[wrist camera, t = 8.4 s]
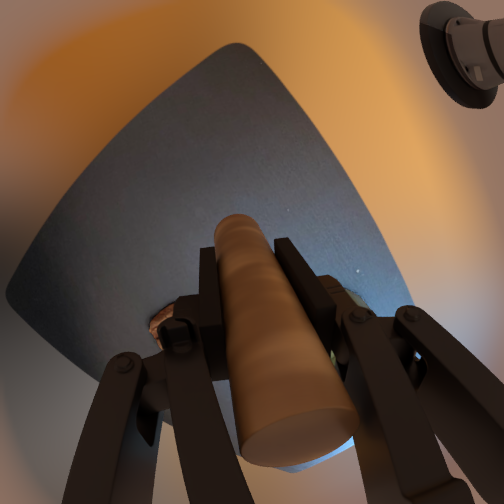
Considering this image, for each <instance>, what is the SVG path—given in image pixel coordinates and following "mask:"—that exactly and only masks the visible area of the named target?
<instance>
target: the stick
mask: <svg viewBox="0 0 504 504" xmlns="http://www.w3.org/2000/svg"><path fill="white" fill-rule="evenodd" d="M214 243H215V254H216V262H217V271H218V281H219V291H220V301H221V310H222V319H223V328H224V336H225V344H226V349H225V350H226V359H227V367H228V375H229V383H230V390H231V397H232V405H233V412H234V419H235V425H236V432H237V438H238V445H239V451H240V454H241V456H242V457H243V458H244V459H245V460H246V461H247V462H249V463H251V464H254V465H258V466H263V467H285V466H292V465H297V464H302V463H305V462H309V461H312V460H315V459H317V458H320V457H322V456H324V455H326V454H328V453H330V452H332V451H334V450H335V449H337V448H339V447H340V446H341V445H343V444H344V443H345V442H347V441H348V440H349V439H350V438H351V437H352V436H353V435H354V433H355V432H356V431H357V429H358V427H359V424H360V417H359V414H358V412H357V410H356V408H355V406H354V404H353V402H352V400H351V398H350V396H349V394H348V392H347V390H346V388H345V386H344V384H343V382H342V380H341V378H340V377H339V375H338V373H337V371H336V369H335V367H334V365H333V363H332V361H331V359H330V357H329V355H328V353H327V352H326V350H325V348H324V346H323V344H322V342H321V340H320V338H319V336H318V334H317V332H316V331H315V329H314V327H313V325H312V323H311V321H310V319H309V317H308V316H307V314H306V312H305V310H304V308H303V306H302V304H301V302H300V301H299V299H298V297H297V295H296V293H295V291H294V289H293V287H292V286H291V284H290V282H289V280H288V278H287V276H286V275H285V273H284V271H283V269H282V267H281V265H280V264H279V262H278V260H277V258H276V256H275V254H274V253H273V251H272V249H271V247H270V245H269V243H268V242H267V240H266V238H265V236H264V234H263V233H262V231H261V229H260V227H259V225H258V224H257V222H256V221H255V220H254V219H253V218H251V217H249V216H247V215H244V214H233V215H230V216H227V217H226V218H224V219H223V220H221V222H220V223H219V224H218V225H217V227H216V229H215V233H214Z"/></svg>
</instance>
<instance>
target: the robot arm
mask: <svg viewBox="0 0 504 504" xmlns="http://www.w3.org/2000/svg"><path fill="white" fill-rule="evenodd" d="M443 39H444V45H445V49H446V52H447V55H448V58H449V60H450V62H451V64H452V66H453V68H454V70H455V71H456V73H457V74H458V76H459V77H460V79H461V80H462V81H463V82H464V83H465V84H466V85H467V86H469V87H470V88H472V89H474V90H488V89H491V88H493V87H495V86H497V85H500V84H502V83H504V19H497V20H490V21H481V20H476V19H471V18H465V17H455V18H451V19H449V20H447V21H446V23H445V25H444V29H443ZM274 250H275V256H276V258H277V260H278V262H279V264H280V265H281V267H282V269H283V271H284V273H285V275H286V276H287V278H288V280H289V282H290V284H291V286H292V287H293V289H294V291H295V293H296V295H297V297H298V299H299V301H300V302H301V304H302V306H303V308H304V310H305V312H306V314H307V316H308V317H309V319H310V321H311V323H312V325H313V327H314V329H315V331H316V332H317V334H318V336H319V338H320V340H321V342H322V344H323V346H324V348H325V350H326V352H327V353H328V355H329V357H330V358H331V351H332V352H333V354H334V355H335V357H336V359H335V365H334V367H335V369H336V371H337V373H338V375H339V377H340V378H341V380H342V382H343V384H344V386H345V388H346V390H347V392H348V394H349V396H350V398H351V400H352V402H353V404H354V406H355V408H356V410H357V412H358V414H359V417H360V424H359V427H358V429H357V431H356V432H355V433H354V435H353V440H354V444H355V448H356V452H357V457H358V460H359V465H360V470H361V474H362V479H363V484H364V488H365V493H366V498H367V502H368V504H475V503H474V500H473V497H472V494H471V491H470V488H469V487H468V485H467V483H466V482H465V481H464V480H462V479H458V478H454V477H453V476H451V474H450V473H449V470H448V468H447V464H446V462H445V459H444V457H443V454H442V451H441V449H440V446H439V444H438V442H437V439H436V437H435V435H436V436H437V437H438V439H439V440H440V441H441V443H442V444H443V445H444V447H445V448H446V449H447V451H448V452H449V453H450V455H451V456H452V457H453V459H454V460H455V462H456V463H457V464H458V466H459V467H460V468H461V470H462V471H463V473H464V474H465V475H466V477H467V478H468V479H469V481H470V482H471V484H472V485H473V487H474V488H475V489H476V491H477V492H478V493H479V495H480V496H481V497H482V498H483V500H485V501H486V502H487V503H488V504H504V384H503V383H502V382H501V381H500V380H499V379H498V378H497V377H496V376H495V375H494V374H493V373H492V372H491V371H490V370H489V369H488V368H487V367H486V366H484V365H483V364H482V363H481V362H480V361H479V360H478V359H477V358H476V357H475V356H474V355H473V354H472V353H471V352H470V351H469V350H468V349H467V348H465V347H464V346H463V345H462V344H461V343H460V342H459V341H458V340H457V339H456V338H454V337H453V336H452V335H451V334H450V333H449V332H448V331H447V330H446V329H444V328H443V327H442V326H441V325H440V324H439V323H438V322H436V321H435V320H434V319H433V318H432V317H431V316H430V315H428V314H427V313H426V312H425V311H424V310H422V309H421V308H419V307H416V306H412V305H406V306H401V307H400V308H398V309H397V311H396V313H395V317H377V316H376V314H375V313H374V312H373V311H372V310H370V309H368V308H366V307H362V306H358V305H357V304H356V302H355V301H354V300H353V299H352V298H351V296H350V295H349V294H348V293H347V291H346V290H345V289H344V288H343V286H342V285H341V284H340V283H339V282H338V280H337V279H335V278H333V277H332V276H330V275H323V276H316V275H315V274H314V272H313V271H312V269H311V268H310V267H309V265H308V264H307V263H306V261H305V260H304V258H303V257H302V256H301V254H300V253H299V252H298V250H297V249H296V248H295V246H294V245H293V244H292V242H291V241H290V240H289V238H288V237H286V238H278V239H274ZM157 334H158V337H159V340H160V343H161V346H162V349H163V350H162V351H161V352H160V353H158V354H156V355H153V356H150V357H147V358H144V359H141V357H140V355H138V354H136V353H134V352H123V353H120V354H118V355H115V356H114V357H113V358H112V359H110V361H109V362H108V364H107V366H106V368H105V371H104V373H103V376H102V378H101V381H100V383H99V386H98V389H97V391H96V394H95V396H94V399H93V402H92V405H91V407H90V410H89V413H88V416H87V419H86V421H85V424H84V428H83V430H82V434H81V436H80V440H79V443H78V446H77V449H76V452H75V456H74V459H73V462H72V466H71V469H70V473H69V476H68V480H67V484H66V488H65V492H64V496H63V500H62V504H152V496H153V487H154V479H155V471H156V463H157V455H158V448H159V441H160V433H161V428H162V421H163V415H164V410H166V409H169V408H170V410H171V417H172V423H173V429H174V433H175V439H176V445H177V450H178V455H179V460H180V464H181V468H182V473H183V478H184V482H185V486H186V490H187V494H188V498H189V501H190V504H255V503H254V500H253V498H252V495H251V493H250V491H249V488H248V486H247V483H246V480H245V478H244V475H243V473H242V470H241V467H240V465H239V462H238V459H237V456H236V454H235V451H234V448H233V445H232V442H231V440H230V437H229V434H228V431H227V428H226V425H225V422H224V419H223V416H222V413H221V410H220V407H219V403H218V400H217V397H216V394H215V390H214V387H213V384H212V381H219V380H227V379H229V375H228V367H227V359H226V350H225V349H226V344H225V336H224V328H223V319H222V310H221V301H220V291H219V281H218V271H217V262H216V254H215V247H207V248H200V265H199V294H196V295H187V296H179V298H178V299H177V300H176V302H175V303H174V307H173V314H172V317H169V318H167V319H165V320H163V321H162V322H161V323H160V324H159V325H158V327H157ZM416 352H418V354H419V355H420V356H421V359H418V358H417V357H416V356H415V355H416ZM211 380H212V381H211ZM434 433H435V434H434Z"/></svg>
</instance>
